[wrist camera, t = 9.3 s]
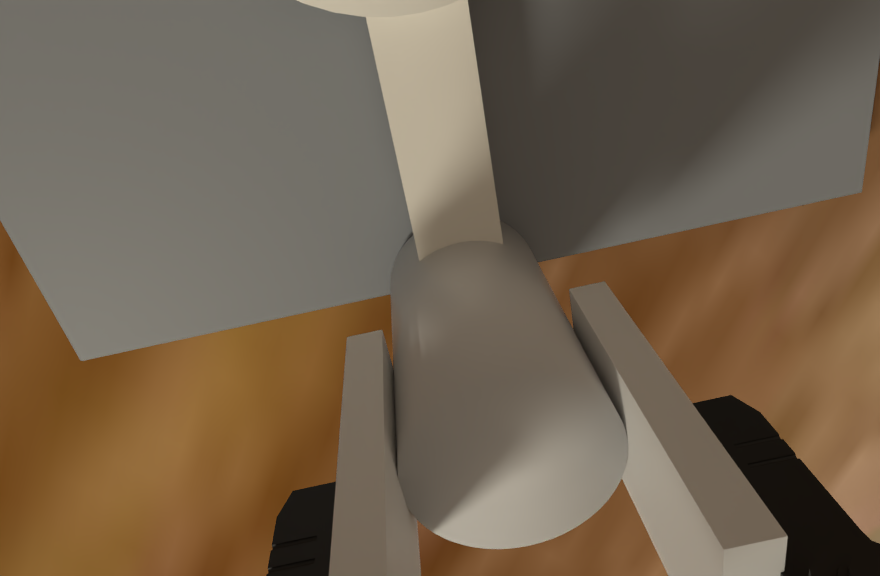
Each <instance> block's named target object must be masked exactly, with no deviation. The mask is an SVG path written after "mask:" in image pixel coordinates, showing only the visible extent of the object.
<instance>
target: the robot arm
mask: <svg viewBox="0 0 880 576" xmlns="http://www.w3.org/2000/svg"><path fill="white" fill-rule="evenodd" d="M569 292H570V301H571V310H572V319H573V329H574V332H575V334H576V336H577V338H578V339H579V341H580V343H581V345H582V347H583V349H584V351H585V353H586V354H587V356H588V358H589V360H590V362H591V364H592V366H593V368H594V369H595V371H596V373H597V375H598V377H599V379H600V381H601V382H602V384H603V386H604V388H605V390H606V392H607V394H608V396H609V397H610V399H611V401H612V403H613V405H614V407H615V409H616V411H617V412H618V414H619V416H620V418H621V420H622V422H623V424H624V427H625V430H626V433H627V440H628V458H627V463H626V467H625V470H624V473H623V476H622V479H623V482H624V484H625V486H626V488H627V490H628V492H629V494H630V496H631V498H632V500H633V502H634V505H635V507H636V509H637V511H638V513H639V515H640V517H641V519H642V521H643V523H644V525H645V528H646V530H647V532H648V534H649V536H650V538H651V540H652V542H653V544H654V546H655V548H656V551H657V553H658V555H659V557H660V559H661V561H662V563H663V565H664V567H665V569H666V572H667V574H668V576H880V544H879V543H876V542H874V541H871V540H870V539H869V538H868V537H867V536H866V535H865V534H864V533H863V532H862V531H861V530H860V529H859V527H858V526H857V525H856V524H855V523H854V522H853V520H852V519H851V518H850V517H849V516H848V515H847V513H846V512H845V511H844V510H843V509H842V508H841V506H840V505H839V504H838V503H837V502H836V501H835V499H834V498H833V497H832V496H831V495H830V494H829V492H828V491H827V490H826V489H825V488H824V487H823V485H822V484H821V483H820V482H819V481H818V480H817V478H816V477H815V476H814V475H813V474H812V473H811V471H810V470H809V469H808V468H807V467H806V465H805V464H804V463H803V462H802V461H801V460H800V458H799V459H797V458H796V455H795V453H794V451H793V450H792V449H791V448H790V447H789V446H788V444H787V443H786V442H785V441H784V440H783V439H780V437H779V434H778V433H777V432H776V430H775V429H774V428H773V427H772V426H771V425H770V423H769V422H768V421H767V420H766V419H765V418H764V416H763V415H762V414H761V413H760V412H759V411H757V410H755V409H754V408H752V407H750V406H749V405H747V404H745V403H744V402H742V401H740V400H739V399H737V398H735V397H733V396H732V395H729V396H725V397H720V398H715V399H711V400H706V401H701V402H697V403H692V402H691V401H690V399H689V398H688V397H687V395H686V394H685V393H684V391H683V390H682V388H681V387H680V386H679V384H678V383H677V381H676V380H675V379H674V377H673V376H672V374H671V373H670V372H669V370H668V369H667V368H666V366H665V365H664V363H663V362H662V361H661V359H660V358H659V356H658V355H657V354H656V352H655V351H654V349H653V348H652V347H651V345H650V344H649V342H648V341H647V340H646V338H645V337H644V336H643V334H642V333H641V331H640V330H639V329H638V327H637V326H636V324H635V323H634V322H633V320H632V319H631V317H630V316H629V315H628V313H627V312H626V311H625V309H624V308H623V306H622V305H621V304H620V302H619V301H618V299H617V298H616V297H615V295H614V294H613V292H612V291H611V290H610V288H609V287H608V285H607V284H606V283H605V281H604V282H600V283H595V284H591V285H586V286H581V287H577V288H572V289H569ZM272 547H273V550H271V553H270V559H269V564H268V571H269V572H268V574H267V576H421V569H420V555H419V542H418V528H417V519H416V518H415V516H414V515H413V514H412V513H411V512H410V510H409V509H408V507H407V505H406V502H405V499H404V495H403V492H402V489H401V486H400V483H399V479H398V471H397V445H396V419H395V394H394V370H393V366H392V363H391V359H390V355H389V352H388V348H387V345H386V341H385V338H384V334H383V331H382V330H378V331H374V332H369V333H365V334H360V335H355V336H351V337H347V344H346V357H345V370H344V383H343V396H342V409H341V423H340V436H339V449H338V462H337V475H336V482H333V483H328V484H323V485H319V486H314V487H309V488H305V489H300V490H295V491H293V492H292V493H291V495H290V497H289V498H288V500H287V502H286V503H285V505H284V506H283V508H282V510H281V511H280V513H279V515H278V516H277V519H276V525H275V531H274V536H273V542H272Z"/></svg>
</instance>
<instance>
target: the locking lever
mask: <svg viewBox="0 0 880 576" xmlns="http://www.w3.org/2000/svg"><path fill="white" fill-rule="evenodd" d="M297 1H299V2H301V3H304V4H307V5H310V6H313V7H317V8H320V9H324V10H327V11H330V12H334V13H341V14H348V15H354V16H361V17H366V21H367V25H368V30H369V34H370V39H371V43H372V48H373V53H374V57H375V62H376V66H377V71H378V75H379V80H380V84H381V89H382V93H383V98H384V103H385V107H386V112H387V116H388V121H389V125H390V130H391V134H392V139H393V144H394V148H395V153H396V157H397V162H398V166H399V171H400V175H401V180H402V185H403V189H404V194H405V198H406V203H407V207H408V212H409V216H410V221H411V225H412V230H413V236H412V237H411V238H410V239H408V241H407V242H406V243H405V244H404V246H403V247H402V248H401V250H400V252H399V253H398V255H397V257H396V260H395V262H394V264H393V268H392V272H391V279H390V290H391V316H392V342H393V368H394V394H395V419H396V445H397V471H398V479H399V483H400V486H401V489H402V492H403V495H404V499H405V502H406V505H407V507H408V509H409V510H410V512H411V513H412V514H413V515H414V516H415V518H416V519H417V520H418V521H419V522H420V523H422V524H423V525H424V526H425V527H426V528H428V529H429V530H431V531H432V532H434V533H435V534H437V535H439V536H441V537H443V538H445V539H447V540H450V541H453V542H455V543H458V544H462V545H466V546H471V547H477V548H485V549H508V548H518V547H524V546H529V545H533V544H537V543H541V542H544V541H547V540H550V539H553V538H555V537H558V536H560V535H562V534H564V533H566V532H568V531H570V530H572V529H574V528H575V527H577V526H579V525H580V524H582V523H583V522H584V521H586V520H587V519H589V518H590V517H591V516H592V515H593V514H595V513H596V512H597V511H598V510H599V509H600V508H601V507H602V506H603V505H604V504H605V503H606V502H607V501H608V499H609V498H610V497H611V495H612V494H613V492H614V491H615V490H616V488H617V486H618V484H619V482H620V480H621V478H622V476H623V473H624V470H625V467H626V463H627V458H628V440H627V433H626V430H625V427H624V424H623V422H622V420H621V418H620V416H619V414H618V412H617V411H616V409H615V407H614V405H613V403H612V401H611V399H610V397H609V396H608V394H607V392H606V390H605V388H604V386H603V384H602V382H601V381H600V379H599V377H598V375H597V373H596V371H595V369H594V368H593V366H592V364H591V362H590V360H589V358H588V356H587V354H586V353H585V351H584V349H583V347H582V345H581V343H580V341H579V339H578V338H577V336H576V334H575V332H574V330H573V328H572V326H571V324H570V323H569V321H568V319H567V317H566V315H565V313H564V311H563V309H562V308H561V306H560V304H559V302H558V300H557V298H556V296H555V295H554V293H553V291H552V289H551V287H550V285H549V283H548V281H547V280H546V278H545V276H544V274H543V272H542V270H541V268H540V266H539V265H538V263H537V261H536V259H535V257H534V255H533V253H532V251H531V250H530V248H529V246H528V244H527V243H526V241H525V240H524V239H523V237H522V236H521V235H520V234H519V233H518V232H517V231H515V230H514V229H513V228H511V227H510V226H509V225H507V224H505V223H503V222H501V221H500V218H499V211H498V204H497V197H496V191H495V184H494V177H493V170H492V163H491V156H490V150H489V143H488V136H487V129H486V122H485V115H484V108H483V102H482V95H481V88H480V81H479V74H478V67H477V61H476V54H475V47H474V40H473V33H472V26H471V20H470V13H469V6H468V0H297Z"/></svg>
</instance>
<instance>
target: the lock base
mask: <svg viewBox="0 0 880 576" xmlns="http://www.w3.org/2000/svg"><path fill="white" fill-rule="evenodd" d="M468 6H469V13H470V20H471V26H472V33H473V40H474V47H475V54H476V61H477V67H478V74H479V81H480V88H481V95H482V102H483V108H484V115H485V122H486V129H487V136H488V143H489V150H490V156H491V163H492V170H493V177H494V184H495V191H496V197H497V204H498V211H499V218H500V221H501V222H503V223H505V224H507V225H509V226H510V227H511V228H513V229H514V230H515V231H517V232H518V233H519V234H520V235H521V236H522V237H523V239H524V240H525V241H526V243H527V244H528V246H529V248H530V250H531V251H532V253H533V255H534V257H535V259H536V261H537V262H541V261H546V260H551V259H555V258H560V257H564V256H569V255H574V254H578V253H583V252H588V251H592V250H597V249H601V248H606V247H611V246H615V245H620V244H625V243H629V242H634V241H638V240H643V239H648V238H652V237H657V236H662V235H666V234H671V233H675V232H680V231H685V230H689V229H694V228H698V227H703V226H708V225H712V224H717V223H722V222H726V221H731V220H735V219H740V218H745V217H749V216H754V215H759V214H763V213H768V212H772V211H777V210H782V209H786V208H791V207H796V206H800V205H805V204H809V203H814V202H819V201H823V200H828V199H833V198H837V197H842V196H846V195H851V194H856V193H860V192H862V186H863V178H864V171H865V163H866V156H867V148H868V141H869V133H870V126H871V118H872V111H873V104H874V96H875V89H876V81H877V74H878V66H879V59H880V0H468ZM0 221H1V222H2V224H3V226H4V228H5V229H6V231H7V233H8V235H9V236H10V238H11V240H12V242H13V243H14V245H15V247H16V248H17V250H18V252H19V254H20V255H21V257H22V259H23V261H24V262H25V264H26V266H27V268H28V269H29V271H30V273H31V275H32V276H33V278H34V280H35V282H36V283H37V285H38V287H39V289H40V290H41V292H42V294H43V296H44V297H45V299H46V301H47V303H48V304H49V306H50V308H51V310H52V311H53V313H54V315H55V317H56V318H57V320H58V322H59V324H60V325H61V327H62V329H63V331H64V332H65V334H66V336H67V337H68V339H69V341H70V343H71V344H72V346H73V348H74V350H75V351H76V353H77V355H78V357H79V358H80V360H81V361H84V360H88V359H93V358H98V357H102V356H107V355H111V354H116V353H121V352H125V351H130V350H135V349H139V348H144V347H148V346H153V345H158V344H162V343H167V342H172V341H176V340H181V339H185V338H190V337H195V336H199V335H204V334H209V333H213V332H218V331H222V330H227V329H232V328H236V327H241V326H246V325H250V324H255V323H259V322H264V321H269V320H273V319H278V318H283V317H287V316H292V315H296V314H301V313H306V312H310V311H315V310H319V309H324V308H329V307H333V306H338V305H343V304H347V303H352V302H356V301H361V300H366V299H370V298H375V297H380V296H384V295H389V294H391V290H390V279H391V272H392V268H393V264H394V262H395V260H396V257H397V255H398V253H399V252H400V250H401V248H402V247H403V246H404V244H405V243H406V242H407V241H408V239H410V238H411V237H412V236H413V230H412V225H411V221H410V216H409V212H408V207H407V203H406V198H405V194H404V189H403V185H402V180H401V175H400V171H399V166H398V162H397V157H396V153H395V148H394V144H393V139H392V134H391V130H390V125H389V121H388V116H387V112H386V107H385V103H384V98H383V93H382V89H381V84H380V80H379V75H378V71H377V66H376V62H375V57H374V53H373V48H372V43H371V39H370V34H369V30H368V25H367V21H366V17H361V16H354V15H348V14H341V13H334V12H330V11H327V10H324V9H320V8H317V7H313V6H310V5H307V4H304V3H301V2H299V1H297V0H0Z"/></svg>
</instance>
